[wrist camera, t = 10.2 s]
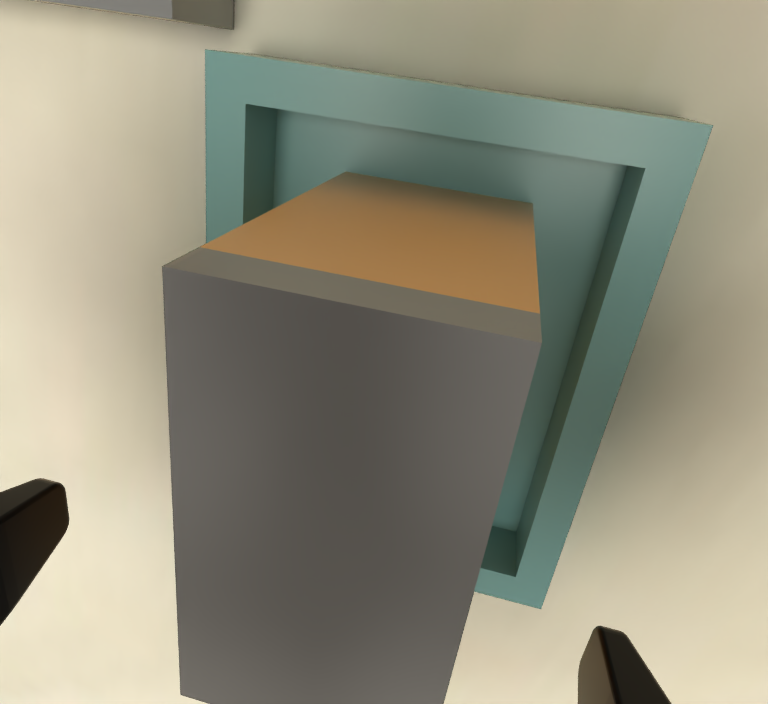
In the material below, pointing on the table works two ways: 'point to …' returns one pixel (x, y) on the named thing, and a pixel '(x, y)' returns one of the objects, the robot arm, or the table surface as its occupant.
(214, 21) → the bay
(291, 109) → the tray
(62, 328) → the table surface
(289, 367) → the grey and orange block
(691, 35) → the table surface
